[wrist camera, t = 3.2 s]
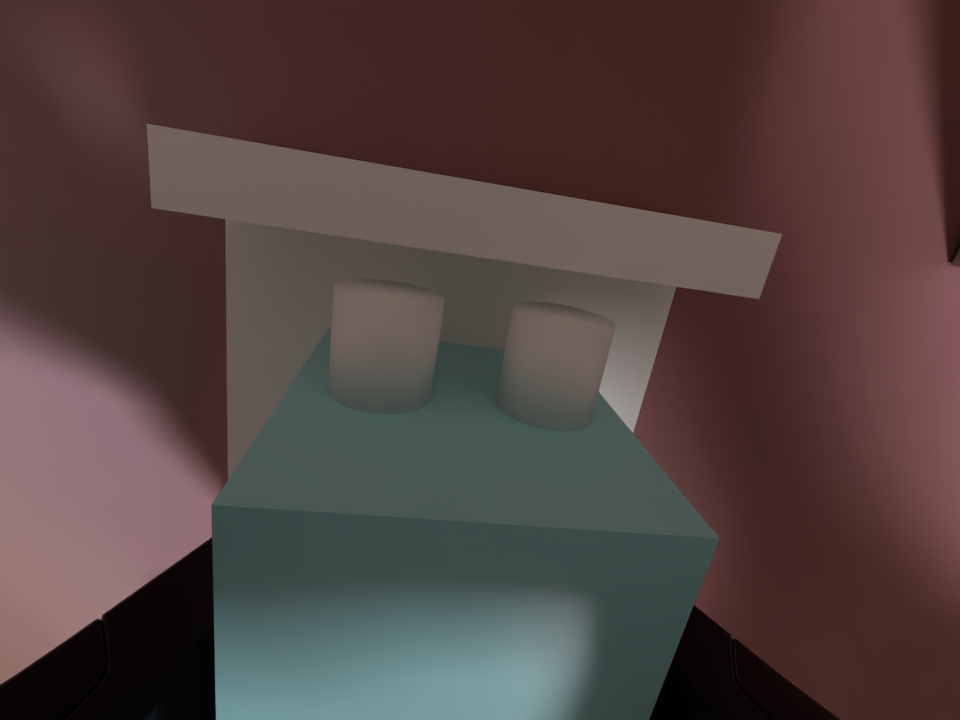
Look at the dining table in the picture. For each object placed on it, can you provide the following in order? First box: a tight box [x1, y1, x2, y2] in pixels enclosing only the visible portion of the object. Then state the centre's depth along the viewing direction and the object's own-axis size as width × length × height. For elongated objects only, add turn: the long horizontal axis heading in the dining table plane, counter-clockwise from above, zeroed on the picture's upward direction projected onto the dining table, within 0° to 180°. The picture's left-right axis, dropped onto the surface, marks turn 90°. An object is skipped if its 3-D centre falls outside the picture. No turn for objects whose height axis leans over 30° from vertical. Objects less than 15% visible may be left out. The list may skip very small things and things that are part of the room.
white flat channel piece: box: [147, 124, 782, 479], centre depth 8 cm, size 11×7×2 cm, turn 171°
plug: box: [212, 279, 720, 720], centre depth 7 cm, size 7×4×4 cm, turn 171°
